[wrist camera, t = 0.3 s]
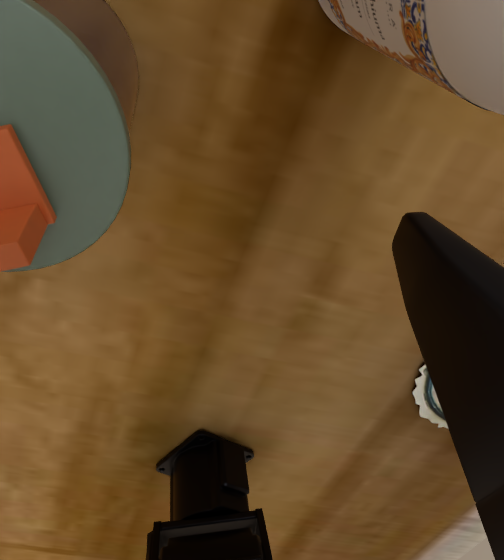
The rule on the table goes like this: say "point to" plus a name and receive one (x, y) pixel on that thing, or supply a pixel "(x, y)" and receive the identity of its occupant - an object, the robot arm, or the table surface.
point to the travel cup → (70, 112)
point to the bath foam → (435, 41)
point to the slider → (20, 204)
